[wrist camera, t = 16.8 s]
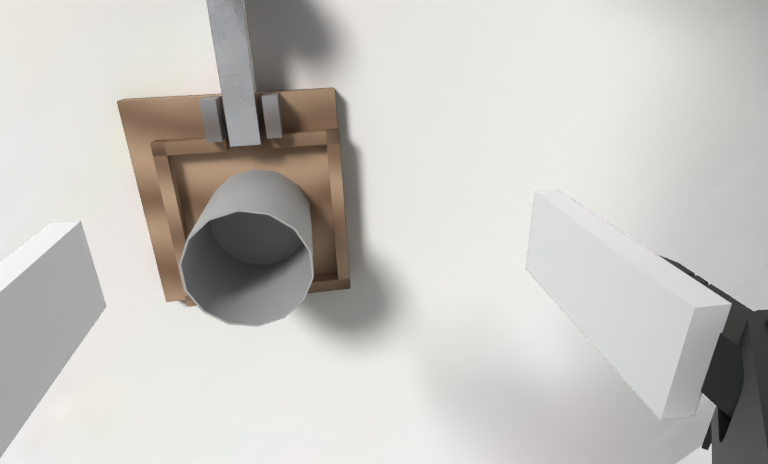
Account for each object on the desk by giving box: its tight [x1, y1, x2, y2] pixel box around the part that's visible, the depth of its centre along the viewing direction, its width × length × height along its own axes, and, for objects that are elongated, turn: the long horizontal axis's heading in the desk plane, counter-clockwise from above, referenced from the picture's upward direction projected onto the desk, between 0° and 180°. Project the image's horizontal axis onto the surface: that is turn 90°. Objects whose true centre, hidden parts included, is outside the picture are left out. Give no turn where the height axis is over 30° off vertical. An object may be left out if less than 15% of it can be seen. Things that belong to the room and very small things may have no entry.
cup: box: [179, 169, 314, 326], centre depth 35 cm, size 8×8×10 cm
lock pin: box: [206, 0, 263, 147], centre depth 31 cm, size 16×4×8 cm, turn 3°
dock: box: [117, 88, 350, 306], centre depth 38 cm, size 17×16×4 cm
